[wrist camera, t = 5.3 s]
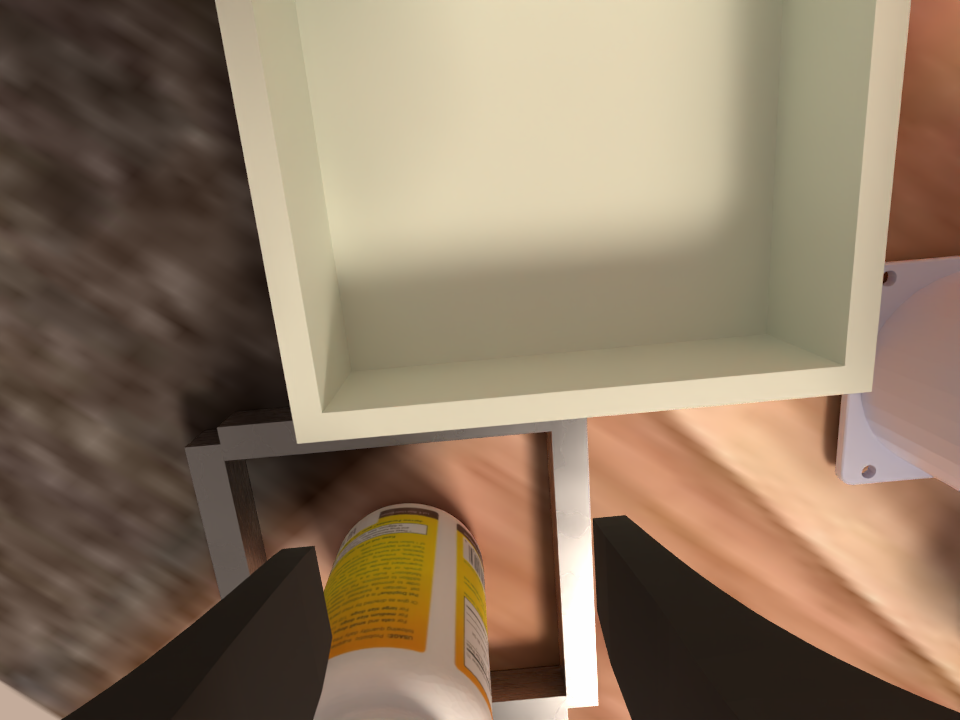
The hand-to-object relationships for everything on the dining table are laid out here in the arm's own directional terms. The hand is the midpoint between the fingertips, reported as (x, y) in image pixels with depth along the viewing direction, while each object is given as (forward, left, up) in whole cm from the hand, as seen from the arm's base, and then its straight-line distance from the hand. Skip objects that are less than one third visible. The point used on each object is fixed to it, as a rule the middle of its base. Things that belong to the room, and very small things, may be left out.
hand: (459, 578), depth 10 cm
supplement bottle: (+3, +6, -10) cm, 12 cm away
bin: (-3, -9, -10) cm, 14 cm away
